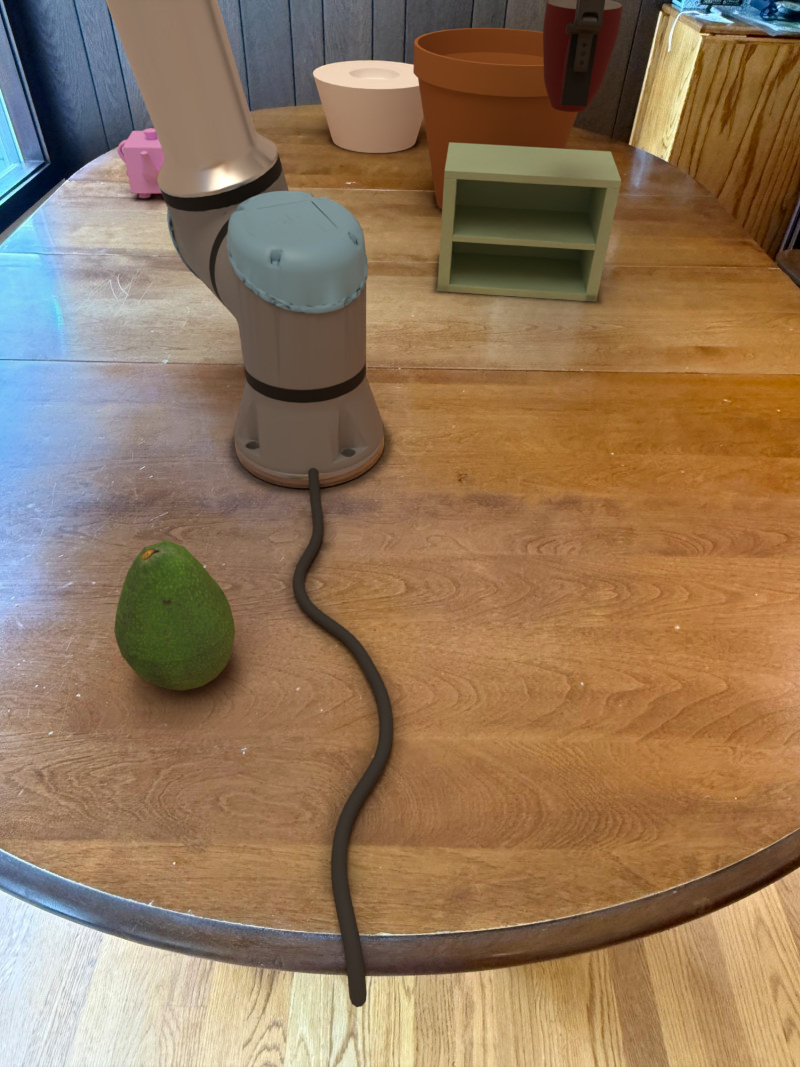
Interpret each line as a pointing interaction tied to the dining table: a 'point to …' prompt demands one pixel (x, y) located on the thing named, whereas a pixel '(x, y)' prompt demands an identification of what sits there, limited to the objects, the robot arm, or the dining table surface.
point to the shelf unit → (526, 220)
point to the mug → (557, 47)
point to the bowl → (370, 104)
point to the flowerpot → (485, 93)
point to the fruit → (173, 619)
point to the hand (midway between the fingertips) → (571, 91)
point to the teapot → (142, 161)
